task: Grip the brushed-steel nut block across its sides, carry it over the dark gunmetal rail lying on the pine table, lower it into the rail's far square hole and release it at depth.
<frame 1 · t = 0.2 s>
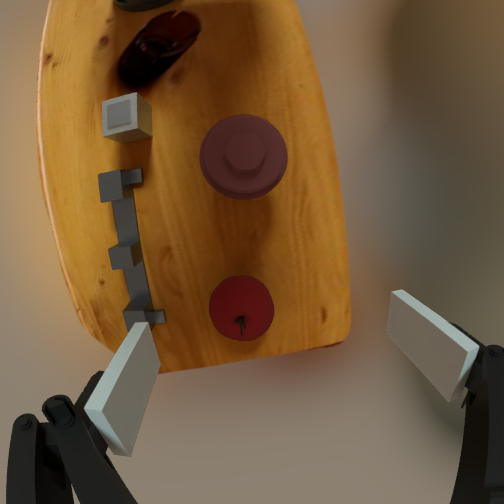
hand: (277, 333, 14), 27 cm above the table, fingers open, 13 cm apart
apple: (240, 296, 43), on the table
nut block: (136, 124, 35), on the table
mechanical component: (241, 162, 38), on the table
rail: (131, 250, 40), on the table
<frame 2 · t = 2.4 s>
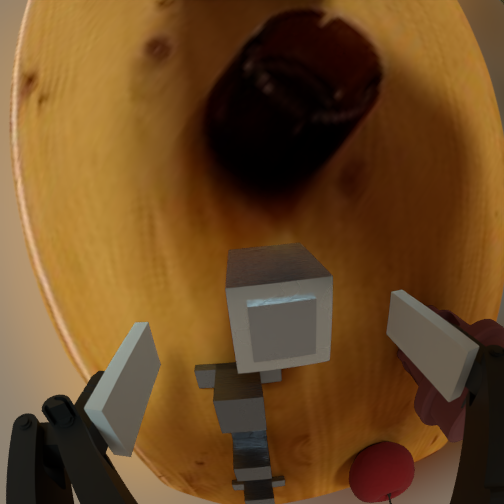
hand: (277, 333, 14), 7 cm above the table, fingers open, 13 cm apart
apple: (372, 450, 28), on the table
nut block: (267, 279, 20), on the table
mechanical component: (421, 333, 23), on the table
rail: (250, 442, 25), on the table
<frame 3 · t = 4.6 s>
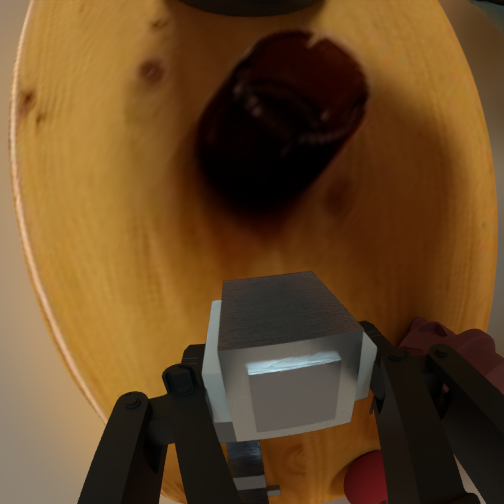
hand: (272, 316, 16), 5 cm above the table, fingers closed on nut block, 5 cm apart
apple: (366, 459, 28), on the table
nut block: (271, 316, 16), point 5 cm above the table, touching gripper
mechanical component: (410, 344, 23), on the table
rail: (245, 452, 25), on the table
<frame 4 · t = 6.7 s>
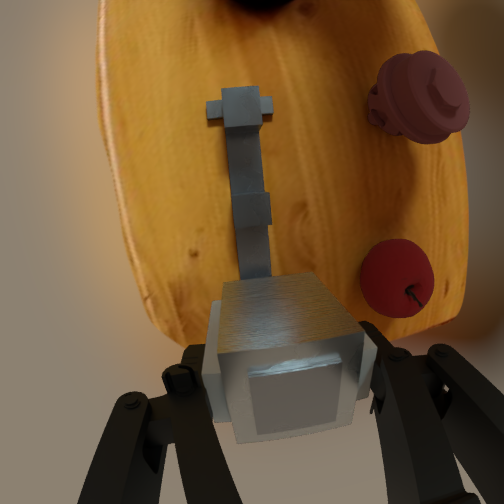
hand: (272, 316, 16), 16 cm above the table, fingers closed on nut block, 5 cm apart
apple: (379, 267, 33), on the table
nut block: (271, 317, 16), point 16 cm above the table, touching gripper
mechanical component: (385, 111, 28), on the table
rail: (249, 206, 30), on the table
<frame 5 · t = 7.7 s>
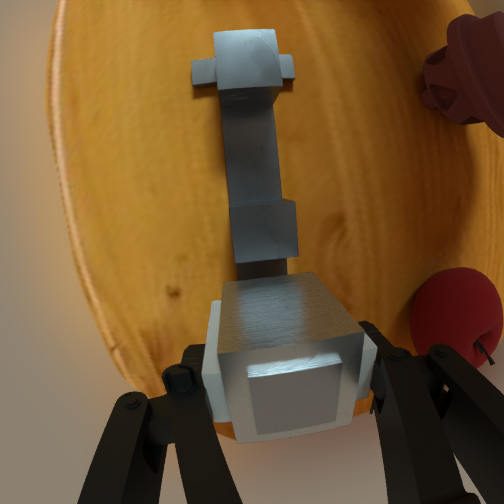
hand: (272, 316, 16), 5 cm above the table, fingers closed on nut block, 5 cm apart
apple: (429, 302, 22), on the table
nut block: (271, 317, 16), point 5 cm above the table, touching gripper
mechanical component: (439, 91, 17), on the table
rail: (257, 221, 19), on the table
when the fingers open (1 cm above the table, at t = 8.7 s): nut block stays where it is, resting on rail.
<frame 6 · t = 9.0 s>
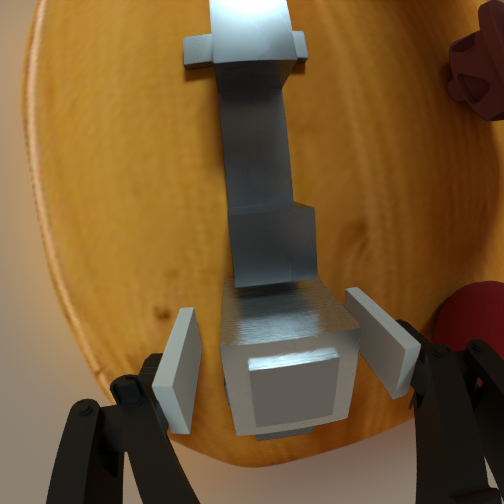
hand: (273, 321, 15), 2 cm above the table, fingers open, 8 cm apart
apple: (451, 317, 19), on the table
nut block: (271, 313, 16), resting on rail
mechanical component: (464, 84, 14), on the table
rail: (262, 230, 16), on the table
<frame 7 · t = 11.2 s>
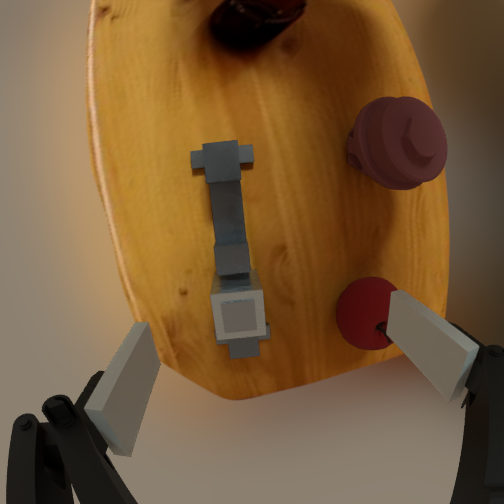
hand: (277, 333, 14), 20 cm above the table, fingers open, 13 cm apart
apple: (357, 300, 36), on the table
nut block: (237, 291, 33), resting on rail
mechanical component: (365, 150, 32), on the table
rail: (232, 250, 33), on the table
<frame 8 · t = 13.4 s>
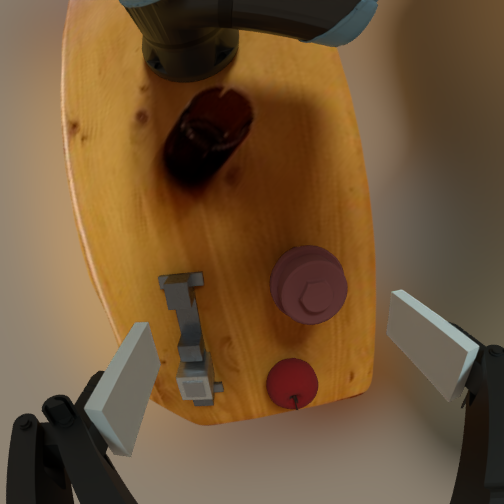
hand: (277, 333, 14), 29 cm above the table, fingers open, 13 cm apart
apple: (287, 369, 48), on the table
nut block: (198, 363, 46), resting on rail
mechanical component: (295, 266, 43), on the table
rail: (193, 339, 45), on the table
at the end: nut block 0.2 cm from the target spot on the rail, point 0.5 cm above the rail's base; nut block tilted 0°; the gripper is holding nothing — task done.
